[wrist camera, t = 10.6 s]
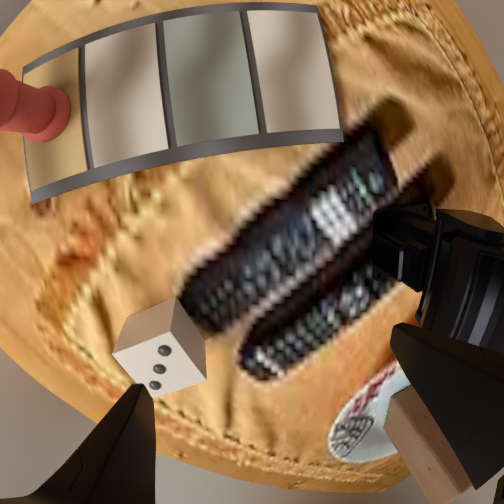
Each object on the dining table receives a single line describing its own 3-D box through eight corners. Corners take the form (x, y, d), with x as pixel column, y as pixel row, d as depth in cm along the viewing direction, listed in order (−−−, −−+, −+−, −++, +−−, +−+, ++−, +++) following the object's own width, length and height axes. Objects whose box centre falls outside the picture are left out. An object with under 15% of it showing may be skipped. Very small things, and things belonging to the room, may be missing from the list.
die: (176, 295, 21) (169, 332, 16) (205, 340, 23) (206, 381, 18) (126, 317, 21) (111, 355, 16) (157, 359, 23) (151, 399, 18)
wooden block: (389, 395, 31) (459, 495, 12) (440, 366, 32) (513, 446, 13) (382, 428, 35) (434, 513, 16) (428, 402, 35) (484, 474, 17)
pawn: (70, 81, 13) (-1, 44, 5) (73, 130, 15) (-7, 115, 6) (29, 102, 13) (-47, 84, 4) (32, 149, 14) (-51, 151, 6)
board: (312, 10, 15) (317, 4, 14) (337, 142, 19) (345, 141, 18) (28, 69, 13) (21, 66, 11) (39, 201, 17) (31, 204, 15)
